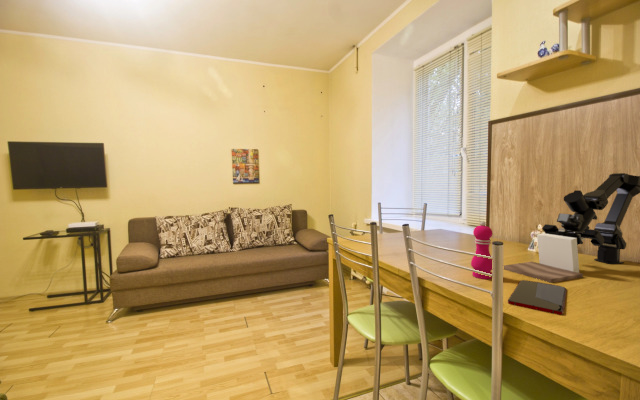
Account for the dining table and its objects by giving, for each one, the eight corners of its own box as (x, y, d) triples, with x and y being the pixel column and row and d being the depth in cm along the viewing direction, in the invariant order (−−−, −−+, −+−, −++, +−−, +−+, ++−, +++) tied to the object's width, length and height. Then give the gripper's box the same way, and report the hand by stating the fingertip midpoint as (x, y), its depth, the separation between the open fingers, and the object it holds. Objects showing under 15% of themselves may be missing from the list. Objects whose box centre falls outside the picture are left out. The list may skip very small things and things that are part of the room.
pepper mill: (473, 272, 112) (474, 219, 111) (495, 275, 108) (496, 220, 107) (468, 277, 107) (469, 221, 106) (491, 281, 102) (492, 223, 101)
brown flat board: (531, 264, 122) (531, 261, 122) (582, 277, 105) (582, 273, 105) (502, 268, 117) (502, 265, 116) (551, 282, 100) (551, 279, 99)
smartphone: (566, 286, 94) (563, 311, 75) (566, 291, 94) (563, 317, 75) (520, 278, 102) (506, 300, 83) (520, 283, 102) (506, 305, 83)
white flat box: (545, 264, 120) (542, 233, 119) (579, 272, 109) (576, 238, 107) (539, 266, 119) (536, 234, 118) (573, 274, 108) (571, 239, 106)
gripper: (545, 204, 123) (525, 232, 120) (600, 207, 106) (578, 240, 103) (558, 222, 126) (539, 250, 123) (613, 228, 109) (592, 261, 106)
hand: (560, 250), depth 114 cm, fingers closed
